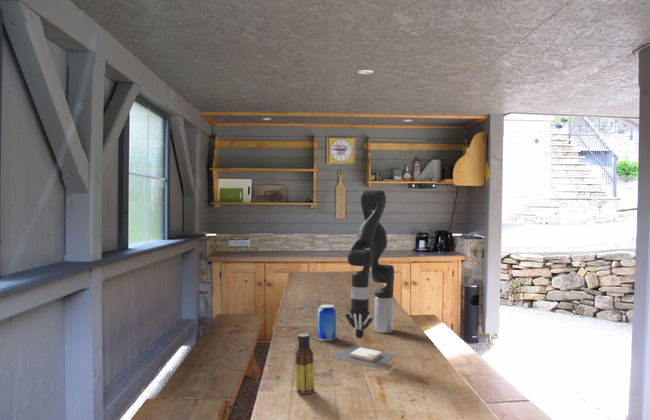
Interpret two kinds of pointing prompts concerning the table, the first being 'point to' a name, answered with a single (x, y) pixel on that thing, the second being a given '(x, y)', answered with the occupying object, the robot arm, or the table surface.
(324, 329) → the beer can
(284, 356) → the table surface
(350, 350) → the mat
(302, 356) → the sauce bottle
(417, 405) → the table surface
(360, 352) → the tile
